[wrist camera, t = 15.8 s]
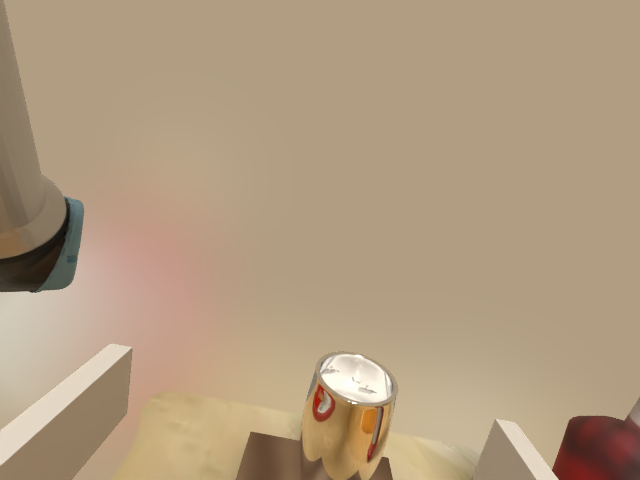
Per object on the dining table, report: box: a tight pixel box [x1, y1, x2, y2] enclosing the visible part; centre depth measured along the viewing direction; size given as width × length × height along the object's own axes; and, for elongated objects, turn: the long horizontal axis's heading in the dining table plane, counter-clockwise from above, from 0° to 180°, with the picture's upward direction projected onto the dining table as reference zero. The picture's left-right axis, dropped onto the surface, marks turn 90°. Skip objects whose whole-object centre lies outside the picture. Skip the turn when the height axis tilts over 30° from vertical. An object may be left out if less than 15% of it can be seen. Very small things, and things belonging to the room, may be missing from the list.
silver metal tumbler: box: [299, 351, 398, 480], centre depth 26 cm, size 7×7×15 cm
